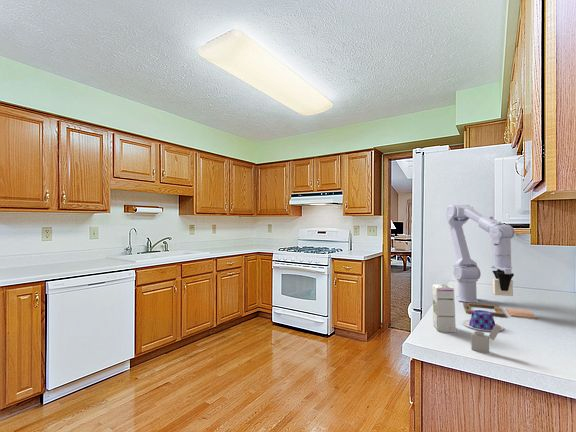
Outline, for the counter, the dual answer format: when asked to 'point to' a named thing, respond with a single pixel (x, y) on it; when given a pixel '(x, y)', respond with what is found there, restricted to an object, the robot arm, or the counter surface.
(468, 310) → the wooden picture frame
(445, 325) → the white segmented tower
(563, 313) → the counter surface
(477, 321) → the pudding
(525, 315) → the peach rectangular tile
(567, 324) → the counter surface
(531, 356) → the counter surface
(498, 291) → the cream upright block
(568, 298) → the counter surface
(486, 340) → the lighter
